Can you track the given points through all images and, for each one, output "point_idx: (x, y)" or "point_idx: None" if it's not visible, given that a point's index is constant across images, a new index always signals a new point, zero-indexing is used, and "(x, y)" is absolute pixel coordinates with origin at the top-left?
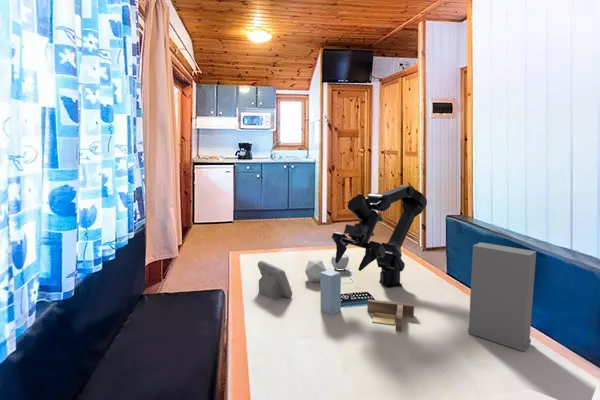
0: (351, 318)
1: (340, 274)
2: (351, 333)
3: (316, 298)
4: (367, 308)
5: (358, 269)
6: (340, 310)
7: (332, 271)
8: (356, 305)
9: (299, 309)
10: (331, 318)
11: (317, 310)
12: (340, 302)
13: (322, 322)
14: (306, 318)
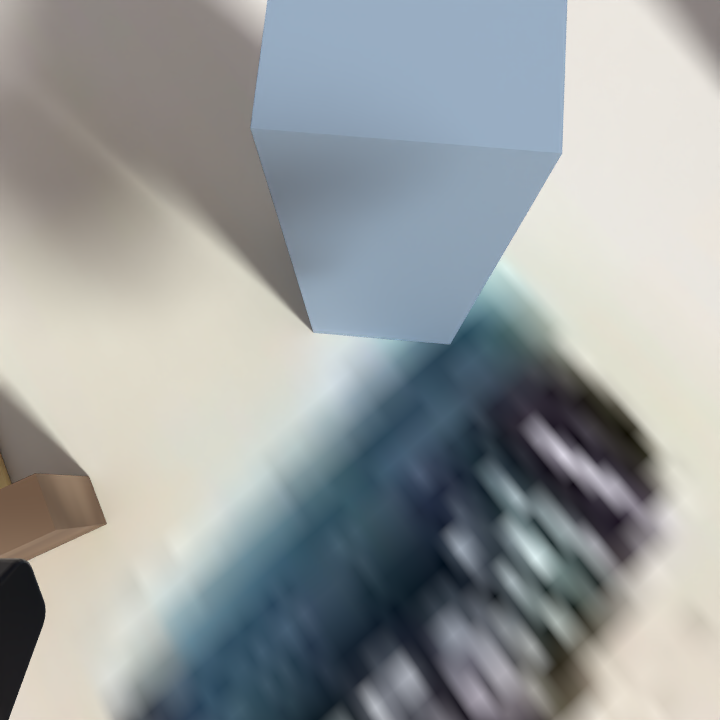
0: (140, 263)
1: (255, 141)
2: (7, 58)
3: (686, 408)
4: (73, 476)
5: (19, 558)
6: (314, 332)
7: (435, 84)
8: (256, 538)
9: (613, 113)
10: None
11: None
12: (306, 309)
13: None
14: None
